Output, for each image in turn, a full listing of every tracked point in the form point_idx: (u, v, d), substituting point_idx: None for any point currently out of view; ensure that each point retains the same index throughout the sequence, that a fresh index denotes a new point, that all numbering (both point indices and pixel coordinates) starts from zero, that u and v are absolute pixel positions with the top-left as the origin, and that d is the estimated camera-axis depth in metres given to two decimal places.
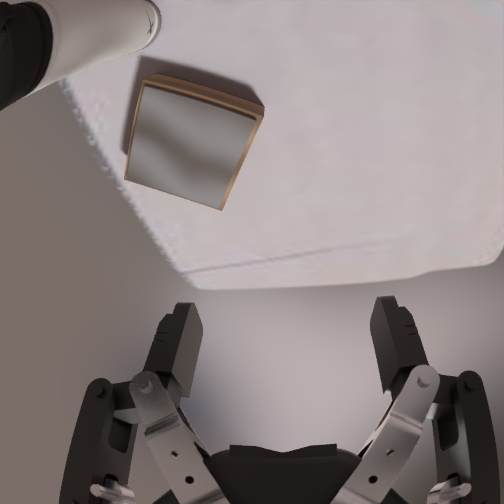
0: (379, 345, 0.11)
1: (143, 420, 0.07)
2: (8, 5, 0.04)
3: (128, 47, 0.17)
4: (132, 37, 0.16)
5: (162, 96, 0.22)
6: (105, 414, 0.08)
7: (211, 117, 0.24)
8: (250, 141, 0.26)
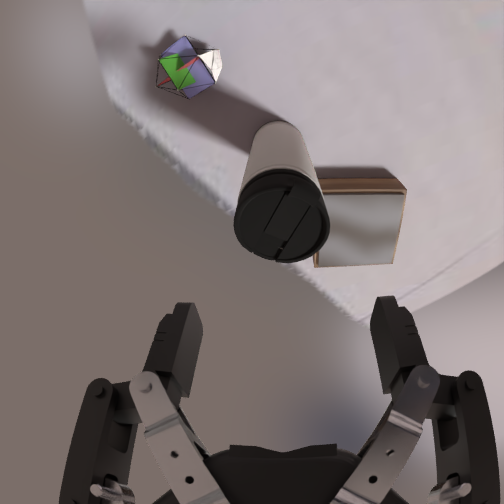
0: (379, 345, 0.11)
1: (143, 420, 0.07)
2: (307, 184, 0.16)
3: None
4: None
5: (336, 199, 0.33)
6: (105, 414, 0.08)
7: (375, 203, 0.33)
8: (402, 209, 0.33)
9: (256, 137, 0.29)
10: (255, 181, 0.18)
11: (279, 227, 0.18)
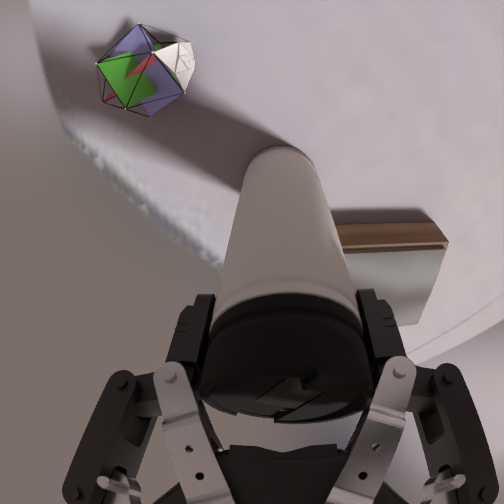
0: None
1: (163, 410, 0.08)
2: (346, 362, 0.07)
3: None
4: None
5: (359, 258, 0.24)
6: (124, 408, 0.08)
7: (409, 261, 0.24)
8: (439, 265, 0.24)
9: (248, 175, 0.20)
10: (237, 326, 0.09)
11: (283, 399, 0.09)
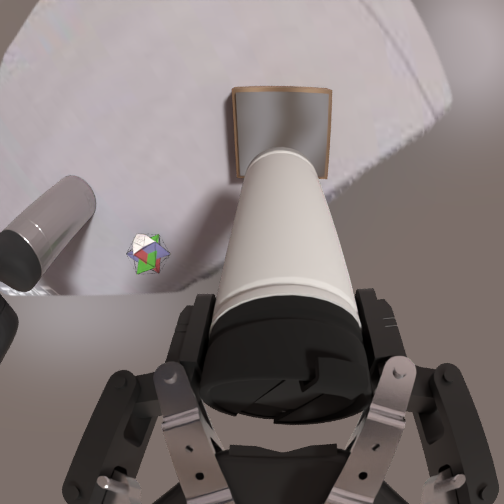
0: None
1: (163, 410, 0.08)
2: (345, 364, 0.07)
3: None
4: None
5: (243, 161, 0.35)
6: (124, 408, 0.08)
7: (247, 122, 0.32)
8: (256, 89, 0.30)
9: (248, 176, 0.20)
10: (236, 327, 0.09)
11: (282, 400, 0.09)
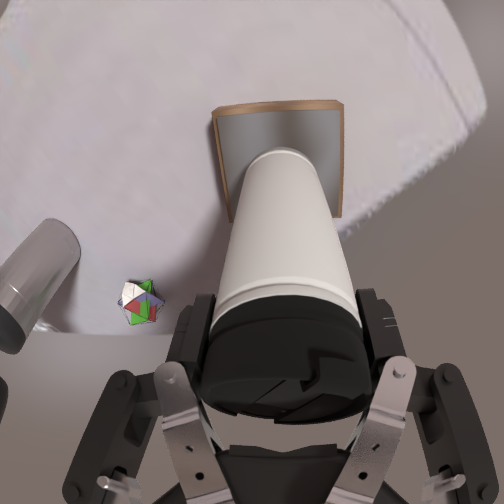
0: None
1: (163, 410, 0.08)
2: (346, 364, 0.07)
3: None
4: None
5: (235, 203, 0.29)
6: (124, 408, 0.08)
7: (235, 155, 0.26)
8: (242, 110, 0.23)
9: (248, 176, 0.20)
10: (237, 327, 0.09)
11: (282, 400, 0.09)
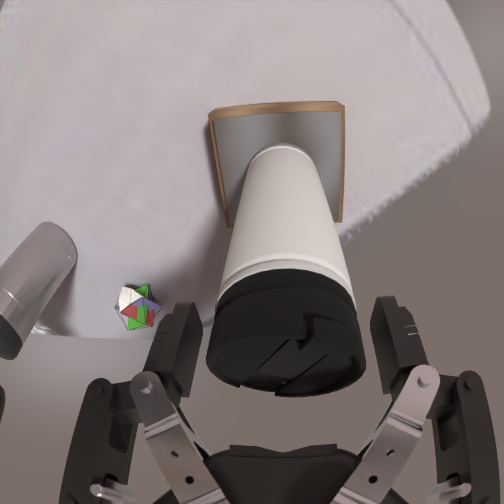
0: (379, 345, 0.11)
1: (143, 420, 0.07)
2: (337, 325, 0.08)
3: None
4: None
5: (232, 208, 0.28)
6: (105, 414, 0.08)
7: (232, 158, 0.25)
8: (240, 111, 0.23)
9: (251, 169, 0.21)
10: (241, 297, 0.10)
11: (282, 368, 0.11)
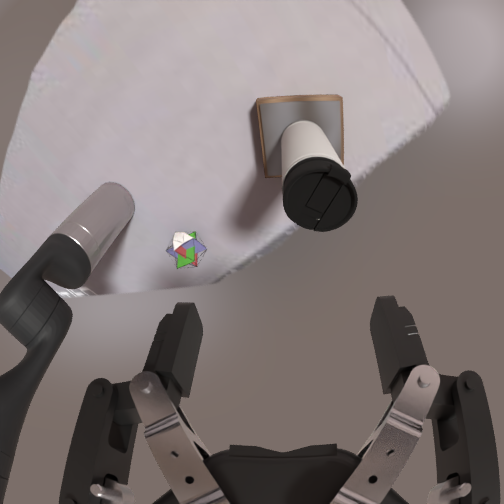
0: (379, 345, 0.11)
1: (143, 420, 0.07)
2: (341, 167, 0.20)
3: None
4: None
5: (270, 163, 0.41)
6: (105, 414, 0.08)
7: (271, 129, 0.37)
8: (276, 100, 0.35)
9: (286, 133, 0.34)
10: (299, 165, 0.23)
11: (318, 202, 0.23)
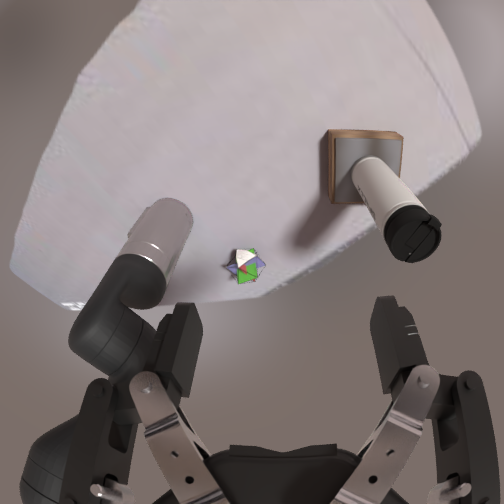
0: (379, 345, 0.11)
1: (143, 420, 0.07)
2: (435, 217, 0.24)
3: None
4: None
5: (338, 191, 0.44)
6: (105, 414, 0.08)
7: (343, 162, 0.41)
8: (350, 135, 0.39)
9: (362, 169, 0.38)
10: (403, 212, 0.26)
11: (414, 241, 0.27)
